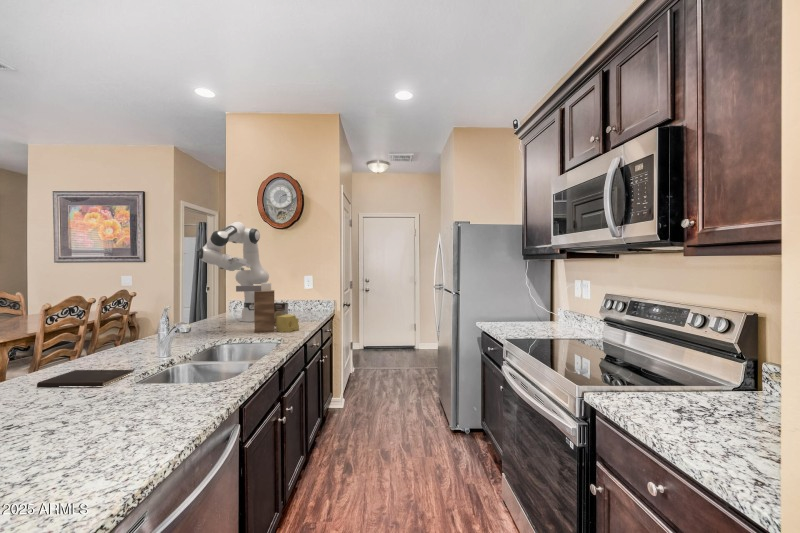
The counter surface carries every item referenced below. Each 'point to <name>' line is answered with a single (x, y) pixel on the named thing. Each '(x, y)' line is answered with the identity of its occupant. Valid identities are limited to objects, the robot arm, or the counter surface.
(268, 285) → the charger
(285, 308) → the coffee box
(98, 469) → the counter surface
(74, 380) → the hardcover book
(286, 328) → the cheese
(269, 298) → the stand
